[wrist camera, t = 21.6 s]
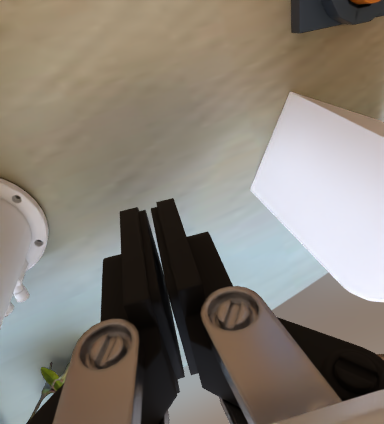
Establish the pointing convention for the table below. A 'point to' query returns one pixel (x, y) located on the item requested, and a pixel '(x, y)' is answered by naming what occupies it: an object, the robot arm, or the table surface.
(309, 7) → the control block
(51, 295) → the table surface
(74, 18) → the table surface
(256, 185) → the milk
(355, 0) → the button
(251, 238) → the table surface
